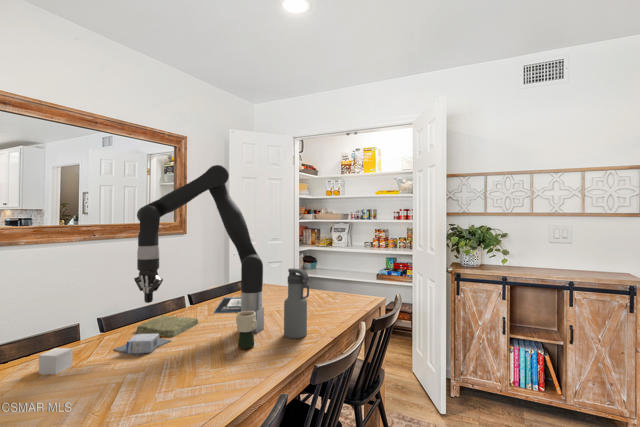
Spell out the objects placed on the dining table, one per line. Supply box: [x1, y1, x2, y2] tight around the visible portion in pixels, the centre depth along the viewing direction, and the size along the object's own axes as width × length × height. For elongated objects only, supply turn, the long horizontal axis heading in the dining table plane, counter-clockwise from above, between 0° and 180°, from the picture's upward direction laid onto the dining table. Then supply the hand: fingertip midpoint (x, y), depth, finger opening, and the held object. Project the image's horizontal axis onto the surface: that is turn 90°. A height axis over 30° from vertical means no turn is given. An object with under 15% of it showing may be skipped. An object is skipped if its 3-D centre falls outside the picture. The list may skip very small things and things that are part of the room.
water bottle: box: [283, 267, 310, 340], centre depth 140 cm, size 10×10×28 cm
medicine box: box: [126, 333, 160, 354], centre depth 123 cm, size 8×4×9 cm
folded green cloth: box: [135, 315, 199, 338], centre depth 147 cm, size 19×20×4 cm
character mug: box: [235, 311, 257, 349], centre depth 126 cm, size 11×7×13 cm, turn 56°
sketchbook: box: [213, 296, 241, 314], centre depth 186 cm, size 22×30×2 cm
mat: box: [113, 337, 172, 357], centre depth 127 cm, size 13×15×1 cm
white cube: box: [38, 347, 73, 376], centre depth 107 cm, size 6×6×6 cm
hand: (148, 302), depth 126 cm, fingers closed
